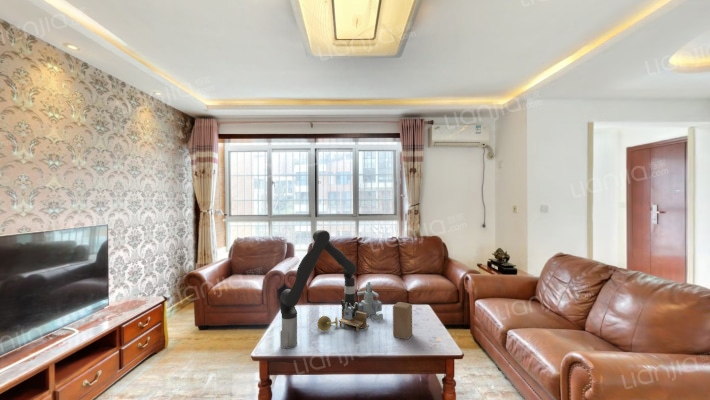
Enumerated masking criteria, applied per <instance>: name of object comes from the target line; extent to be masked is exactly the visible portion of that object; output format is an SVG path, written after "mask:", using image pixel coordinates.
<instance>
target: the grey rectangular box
mask: <svg viewBox="0 0 710 400" xmlns="http://www.w3.org/2000/svg"><path fill="white" fill-rule="evenodd" d="M355 317H356V312H355ZM344 318H345V319H349V320H351V319H352V309H351V307H348V308H347V309H344Z"/></svg>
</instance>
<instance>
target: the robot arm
mask: <svg viewBox="0 0 710 400" xmlns="http://www.w3.org/2000/svg"><path fill="white" fill-rule="evenodd" d="M330 238H331V234H330V232H329V231H328V230H325V229H324V230H323V229H322V230H321V229H318V230H315V231H314V232H313V233H312V240H313V242H314V243H313V246H312V247H311V249H310V250H309V251H308V252H307V253H306V254H305V255H304V256H303V258H302V259H301V261H300V263H299V264H298V267H297V270H296V275H295V281H294V283H293V285H292V286H291V289H290V288H286V289H284V290H283V291H282V292H281V294H280V296H279V297H280V298H279V306H280V309H279V310H280V314H281V330H279V331H280V332H279V333H280V335H279V336H280V339H279V340H280V342H279V343H280V347H281V348H284V349H286V350H288V349H289V350H290V349H292V348H295V347H297V345H298V311H297V309H296V305H297V304H298V303H299V302H300V298H301V296H302V295H303V294H302V293H303V291H304V289H305V287H306V284H307V282H308V281H309V278H310V277H311V275H312V273H313V271H314V269H315V267H316V264H317V263H318V261H319V259H320V257H321V254H322V253H323V252H324V251H326V252H327V254H329V255H330V257H331V258H332V259H334V261H335V262H336V263H337V264H338V265H339V266H341V268H342V273H343V277H344V299H342V300H341V301H340V304H341V310H342V309H347V308H348V307H351V309H352V318H354V317H355V312H356V311H358V306H359V303H360V302H359V303H358V302H356V281H355V277H354V274H355V273H356V272H357V266H356V265H355V264H354V263H353V262H352V261H351V259H349V258H348V257H347V256H346V255H345V253H343V252H342V251H341V250H340V249H339V248H338V247H336V246H335V245H334V244H332V243H331V242H330V240H331V239H330ZM354 304H355V306H354Z"/></svg>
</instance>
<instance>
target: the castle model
mask: <svg viewBox="0 0 710 400" xmlns="http://www.w3.org/2000/svg"><path fill="white" fill-rule="evenodd" d="M356 294H357V303H359V306H358V311H359V312H363V313H367V319H369V318H371V319H372V320H373V321H379V320H383V319H384V314H383V313H377V312H382V309H383V308H382V307H383V305H382V304H383V302H382V301H380V300H379V297H380V296H379V293H377V292H375V291H374V290H373V285H372V284H371V282H370V281H367V284H365V290H361V291H356ZM362 295H363V299H362V300H361V301H360V296H362ZM374 297H376V299H375V300H374ZM354 306H355V304H354ZM368 317H369V318H368Z"/></svg>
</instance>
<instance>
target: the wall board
mask: <svg viewBox="0 0 710 400" xmlns="http://www.w3.org/2000/svg"><path fill="white" fill-rule="evenodd" d="M367 319H368V318H367V313H363V312H359V311H356V317H354V318H352V319H351V320H349V319H345V318H344V309H342V308H341V319H338V323H339V327H342V325H343V324H345V325H349V326H353V327H356V331H357V332H359V328H360V329H367V328H368V327H370V324H367V323H368V322H367Z"/></svg>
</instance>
